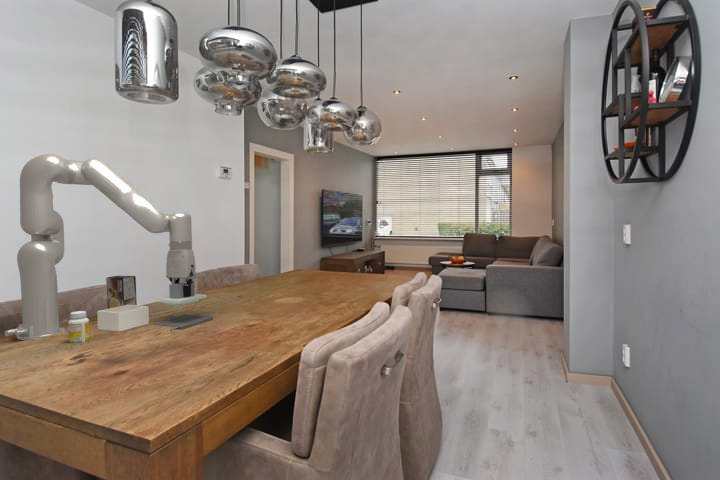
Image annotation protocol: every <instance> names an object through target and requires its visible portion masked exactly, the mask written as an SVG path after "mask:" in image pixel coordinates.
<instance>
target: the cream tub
mask: <svg viewBox="0 0 720 480" xmlns="http://www.w3.org/2000/svg"><path fill="white" fill-rule="evenodd" d="M96 313H97V314H96V315H97V316H96V317H97V329H98V330H101V331H109V332H110V331H111V332H123V331H126V330H129V329H133V328H137V327H141V326H145V325H148V324H150V316H149V313H150V312H149V306H148V305H138V304H137V305H124V306H119V307H114V308H110V309H107V308H104V309H101V310H97V312H96Z"/></svg>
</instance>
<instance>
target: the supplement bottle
mask: <svg viewBox="0 0 720 480" xmlns="http://www.w3.org/2000/svg"><path fill="white" fill-rule="evenodd" d="M70 318H71V319H70V320H68V322H67V327H68V328H67V332H68V334H67V335H68V344H80V343H85V342H88V341H89V340H90V319H89V318H87V311H85V310H78V311H77V310H76V311H72V312H70Z"/></svg>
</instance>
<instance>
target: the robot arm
mask: <svg viewBox="0 0 720 480" xmlns="http://www.w3.org/2000/svg"><path fill="white" fill-rule="evenodd" d="M53 183H57V184H61V185H62V184H63V185H77V186H78V185H80V186H93V187H94V188H96V189H97V190H98V191H99V192H101V193H102V194H103V195H104V196H105V197H106V198H108V199H109V200H110V201H111V202H113V203H114V204H115V205H116V206H117V207H118V208H119V209H121V210H122V211H123V212H124V213H126V214H127V215H128V216H129V217H131V219H133V220H134V221H135V222H136V223H138V225H140V226H141V227H142V228H143V229H145V230H146V231H147V232H149V233H152V234H161V233H168V232H169V243H168V246H169V250H168V251H167V255H166V263H165V265H166V267H165V269H166V271H165V272H166V273H165V274H166V275H165V277H166V278H167V279H168V280H169V282H171V283H170V284H176V283H181V279H183V282H184V285H185V286H183V296H184V297H188V296H191V285H192V283H193V282H194V283H195V281H196V280H197V279H198V278H199V276H198V275H197V272H196V259H195V253H194V250H193V239H192V238H193V236H192V235H193V234H192V229H193V228H192V227H193V226H192V216H191V214H190V213H187V212H173V213H163V212H161V211H160V210H159V209H157V207H155V206H154V205H152V204H151V203H150V202H149V201H148V200H147V199H146V198H145V197H143V195H141V193H140V192H139V190H138V189H137V188H136V187H135V186H134V185H133V184H131V183H130V182H129V181H128V180H127V179H126V178H124V177H123V176H122V175H121V174H120V173H118V172H117V171H116V170H115V169H114V168H112V166H111V165H110V164H109V163H107V162H106V161H105V160H102V159H100V158H97V157H91V158H87V159H86V160H84V161H83V160H69V159H65V158H64V157H62V156H59V155H56V154H53V153H52V154H47V153H46V154H41V155H38V156H35V157H34V158H31V159H30V160H29V161H27V163H25V164H24V166H23V168H22V169H21V171H20V175H19V215H20V216H19V219H20V220H19V221H20V222H19V223H20V228H21V230H22V231H23V232H24V233H25V234H27V235H30V240H31V241H27V242H25V243H24V244H22V245H21V247H19V250H18V251H17V256H16V261H17V267H18V272H19V280H20V296H21V318H22V319H21V320H22V321H21V322H22V323H20V324H18V326H17V327H16V328H11V329H7V330H5V331H4V335H5V337H11V336H16V339H17V340H19V341H33V339H37V338H45V337H46V338H47V337H50V336H55V335H58V334H63V333H64V332H65V331H66V329H65V328H64V327H60V320H59V318H60V317H59V295H58V293H59V292H58V291H59V289H58V278H57V277H58V275H57V271H56V269H57V268H56V265H58V264H59V263H60V262H61V261H62V260H63V258H64V257H65V256H64V255H65V225H64V220H63V218H62V216H61V215H60V213H59V212H57V211H56V210H55V209H54V194H53V188H52V185H53Z"/></svg>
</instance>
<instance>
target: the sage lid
mask: <svg viewBox="0 0 720 480" xmlns="http://www.w3.org/2000/svg"><path fill="white" fill-rule="evenodd" d="M183 286H185V285H184V281H183V282H180V283H176V284H172V283H170V284H169V287H168V289H169V296H166V297H161V298H157V299H156V302H157V303H163V305H172V306H183V305H188V304H193V303H196V302H200V301H201V300H202V299H206V298H207V297H208V296H207V295H208V294H201V293H195V281H194V282H193V283H192V285H191V296H188V297H184V296H183Z"/></svg>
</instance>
